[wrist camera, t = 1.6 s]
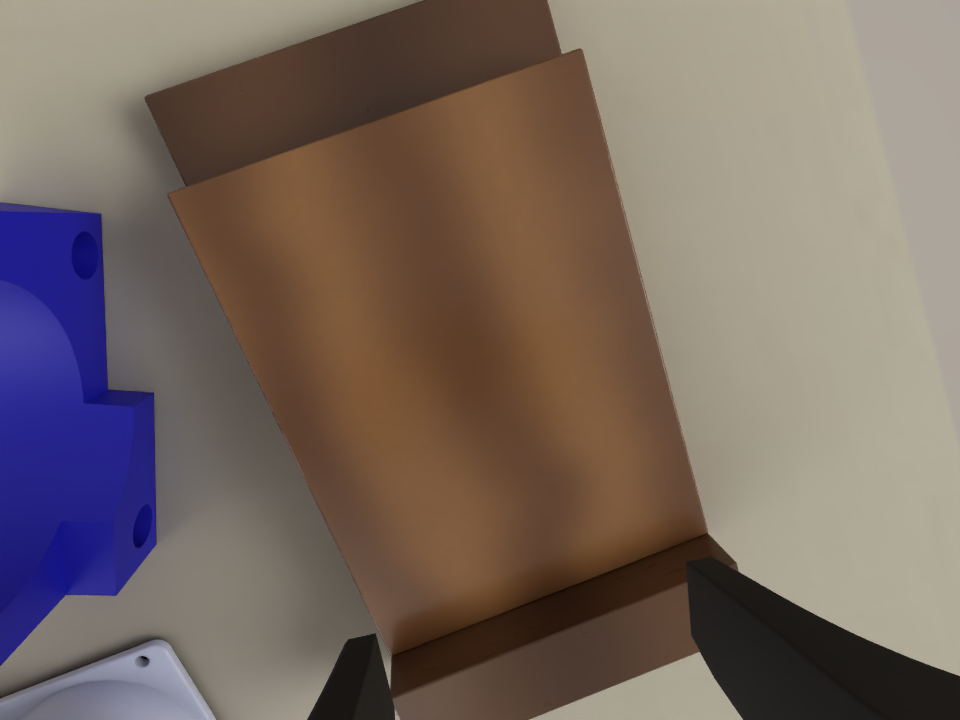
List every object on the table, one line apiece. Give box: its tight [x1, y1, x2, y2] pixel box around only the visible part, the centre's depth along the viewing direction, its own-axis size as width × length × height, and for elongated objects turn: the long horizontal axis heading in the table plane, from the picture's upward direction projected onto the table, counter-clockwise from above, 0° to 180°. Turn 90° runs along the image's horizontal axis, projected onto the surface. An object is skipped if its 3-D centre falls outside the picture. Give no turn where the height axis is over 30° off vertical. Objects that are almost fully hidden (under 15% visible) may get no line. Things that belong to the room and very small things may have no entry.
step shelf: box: [145, 0, 739, 720], centre depth 18 cm, size 12×23×5 cm, turn 19°
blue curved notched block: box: [0, 202, 156, 666], centre depth 16 cm, size 12×4×6 cm, turn 173°
